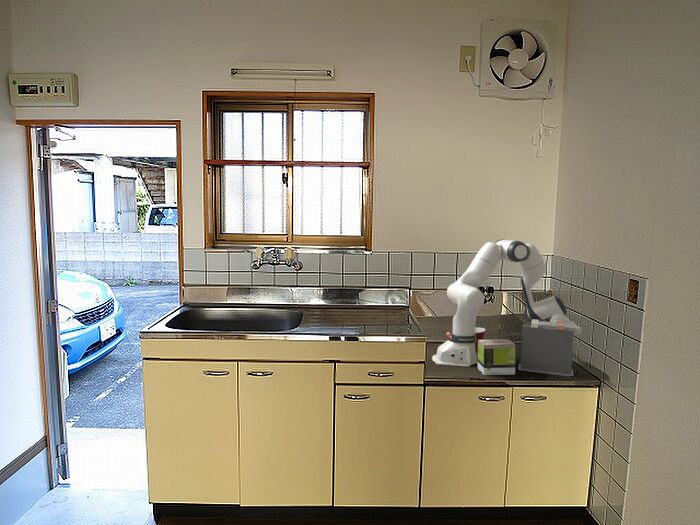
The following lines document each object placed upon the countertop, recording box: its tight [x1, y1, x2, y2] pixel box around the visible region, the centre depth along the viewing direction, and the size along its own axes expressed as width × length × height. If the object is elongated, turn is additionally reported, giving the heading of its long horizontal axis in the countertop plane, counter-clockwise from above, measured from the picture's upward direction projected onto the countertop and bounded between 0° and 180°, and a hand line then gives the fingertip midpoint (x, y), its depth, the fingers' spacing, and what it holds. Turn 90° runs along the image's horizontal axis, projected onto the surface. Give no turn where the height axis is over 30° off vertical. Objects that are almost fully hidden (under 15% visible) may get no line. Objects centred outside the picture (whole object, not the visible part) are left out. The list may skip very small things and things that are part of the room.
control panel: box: [517, 323, 574, 377], centre depth 225 cm, size 24×8×21 cm, turn 67°
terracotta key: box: [557, 321, 564, 330], centre depth 224 cm, size 4×10×7 cm, turn 157°
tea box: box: [477, 338, 517, 376], centre depth 224 cm, size 15×10×15 cm
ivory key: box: [530, 319, 540, 328], centre depth 228 cm, size 4×10×7 cm, turn 157°
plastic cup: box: [475, 326, 486, 353], centre depth 258 cm, size 11×11×12 cm
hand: (559, 331), depth 229 cm, fingers closed, pressing on terracotta key
